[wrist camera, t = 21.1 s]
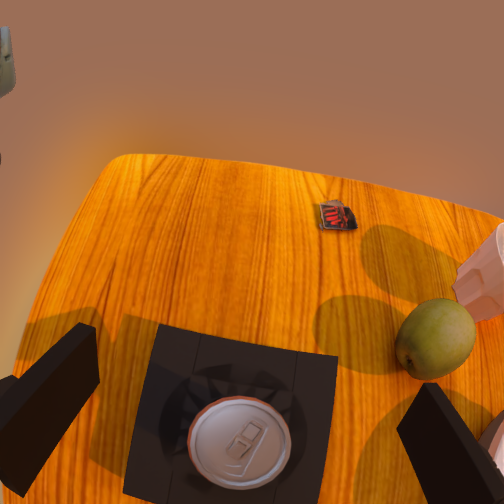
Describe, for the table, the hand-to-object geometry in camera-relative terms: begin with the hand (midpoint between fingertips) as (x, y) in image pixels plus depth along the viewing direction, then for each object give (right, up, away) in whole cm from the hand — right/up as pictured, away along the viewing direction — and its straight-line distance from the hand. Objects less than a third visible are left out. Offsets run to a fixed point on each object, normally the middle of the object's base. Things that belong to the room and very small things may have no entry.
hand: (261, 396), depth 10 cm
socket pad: (-2, -10, +12) cm, 16 cm away
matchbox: (+10, +9, +25) cm, 29 cm away
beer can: (-2, -10, +13) cm, 16 cm away
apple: (+17, -5, +18) cm, 25 cm away
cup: (+29, -1, +22) cm, 37 cm away
